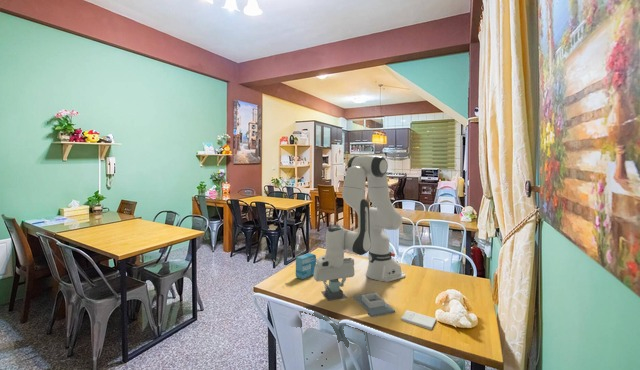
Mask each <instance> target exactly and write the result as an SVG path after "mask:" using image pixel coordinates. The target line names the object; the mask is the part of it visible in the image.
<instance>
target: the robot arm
mask: <svg viewBox="0 0 640 370" xmlns="http://www.w3.org/2000/svg"><path fill="white" fill-rule="evenodd" d="M388 166H389V165H388V162H387V160H386V157H384V156H382V155H371V154H370V155H366V154H365V155H355V156H352V157H350V158H349V160H348V162H347V170H346V173H345V176H344V181H343V185H342V194H341V196H342V200H343V201H344V203H346V205H348V206H349V207H350V208H352V210H354V211H355V212H356V214H357V231H353V230H350V229H346V228H344V227H343V226H342V225H339V224H337V225H336V224H335V225H334V224H333V225H331V226H329V227H327V229H326V234H325V247H326V250H325V254H324V255H321V256H319V257H316V265H315V267H314V275H313V279H314V281H316V282H322V283H323V285H324V290H325V289H328V288H329V283H327V281H329V280H333V279H338V280H339V279H341V281H339V282H340V288H343V287H344V286H345V283H346V280H347V278H353V277H354V276H355V259H354V258H352V257H347V258H345V252H344V250H345V251H349V252H353V253H354V254H357V255H359V256H363V255H366V254H368V265H367V269H366V272H365V276H366V277H367V278H369V279H371V280H373V281H374V280H376V281H382V282H384V283H385V282H386V283H388V282H392V281H395V280H399V279H403V278H406V273H405V272H404V271H403V270H402V266H401V265H400V263H398V261H396V260H395V257H396V253H394V252H391V251H390V238H389V236H388V235H387V234H386V233H385V232H384V230H387V231H396V230H399V229H400V228H401V226H402V225H403V216H402V214H401V213H400V212H399V211H398V210H397V209H396V208H395V207H394V205H393V203H392V201H391V197H390V192H389V181H388V174H387V171H388ZM366 179H367V181H366ZM366 182H367V194H368V196H367V197H368V199H369V201H370V203H372V204H373V205H374V206H375V207H373V206H372V207H371V206H370V205H369V202H368V201H367V199H366V193H365V192H366Z"/></svg>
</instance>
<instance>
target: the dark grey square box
mask: <svg viewBox="0 0 640 370" xmlns="http://www.w3.org/2000/svg"><path fill="white" fill-rule="evenodd" d="M321 294H322V295H323V296H324V297H325V299H326V300H327V301H328V302H331V301H337V300H338V301H339V300H343V299H348V296H347V295H346V294H345V293H344V291H343V290H342V289H341V288H340V292H333V293H331V292H330V291H329V288H328V289H325V288H324V290H323V291H321Z"/></svg>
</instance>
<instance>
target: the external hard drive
mask: <svg viewBox="0 0 640 370" xmlns="http://www.w3.org/2000/svg"><path fill="white" fill-rule="evenodd" d="M400 320H401V321H403V322H404V323H405V322H406V323H409V324H412V325H414V326H419V327H421V328H424V329H427V330H429V331H430V330H431V331H432V330H433V329H434V326H435V325H436V323H437V318H435V317H432V316H428V315H425V314H422V313H418V312H415V311H412V310H408V309H406V310H405V312H404V313H403V314H402V316H401V318H400Z"/></svg>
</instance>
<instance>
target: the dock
mask: <svg viewBox="0 0 640 370" xmlns="http://www.w3.org/2000/svg"><path fill="white" fill-rule="evenodd" d="M352 297H353V298H354V299H355V300H356V301H357V303H358V304H359V305H361V306H362V308H363V309H365V311H366V312H367V316H369V317H370V318H374V317H375V318H376V317H381V316H386V315H391V314H395V313H396V310H395V309H394V308H393V307H392V306H390V305H389V304H388V303H387V302H386V300H385V299H384V298H383V297H381V296H380V295H379V294H378V293H377V292H370V293H364V294H363V293H362V294H357V295H352Z"/></svg>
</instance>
